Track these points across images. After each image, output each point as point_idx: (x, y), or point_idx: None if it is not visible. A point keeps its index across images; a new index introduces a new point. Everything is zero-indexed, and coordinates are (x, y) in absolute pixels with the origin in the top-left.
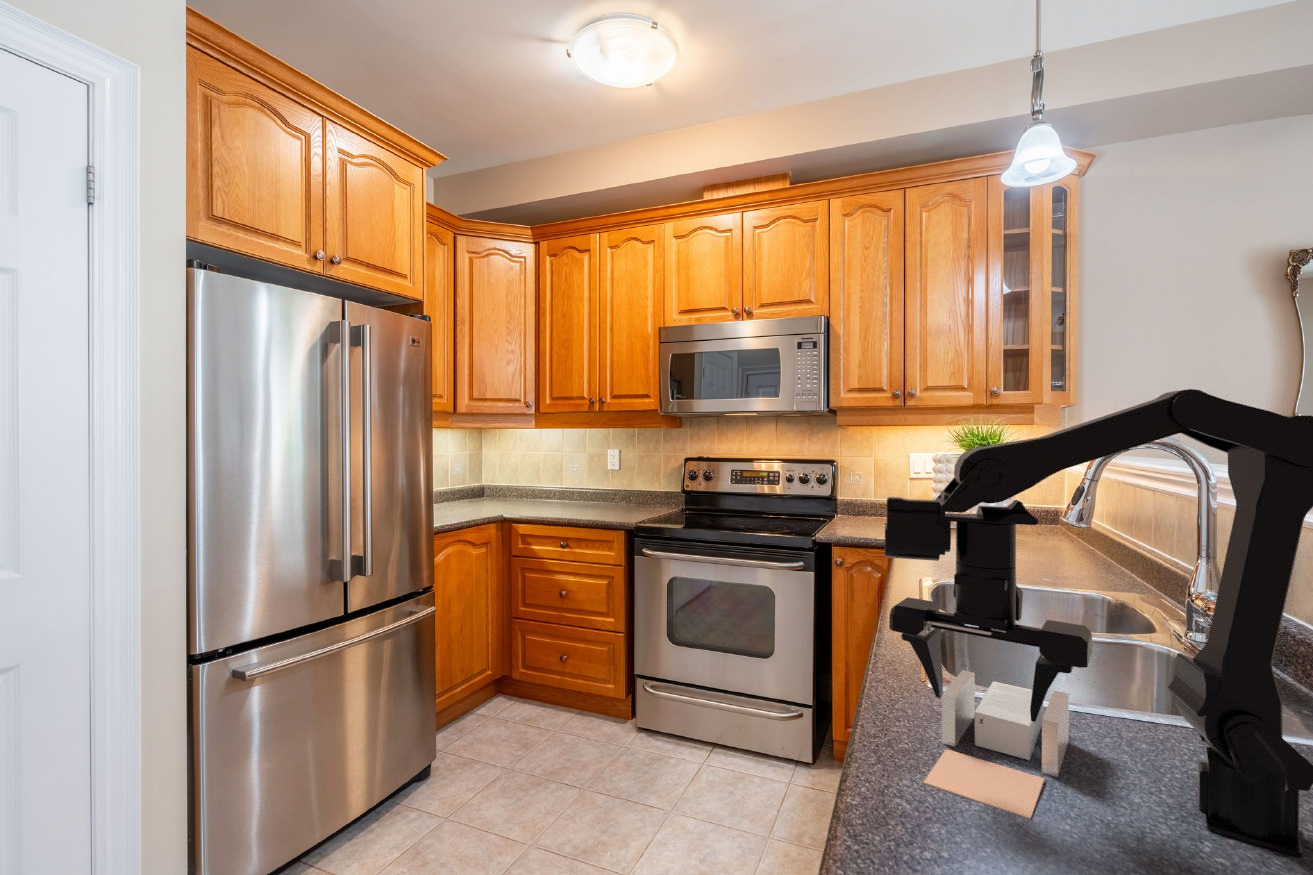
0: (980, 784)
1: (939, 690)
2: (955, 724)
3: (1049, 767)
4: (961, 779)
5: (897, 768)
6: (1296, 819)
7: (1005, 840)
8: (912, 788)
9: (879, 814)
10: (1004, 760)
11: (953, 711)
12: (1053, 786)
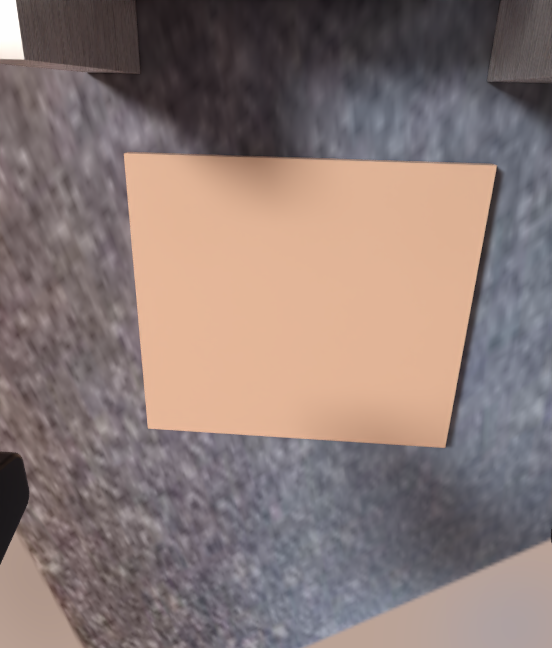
0: (294, 349)
1: (3, 548)
2: (101, 56)
3: (527, 81)
4: (236, 351)
5: (52, 369)
6: None
7: (386, 538)
8: (133, 448)
9: (120, 581)
10: (339, 62)
11: (62, 65)
12: (522, 176)
